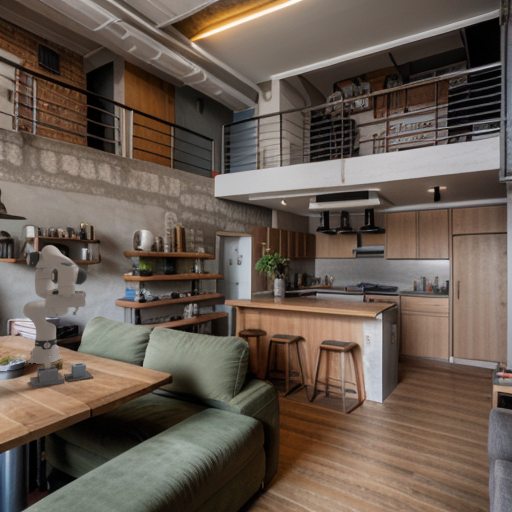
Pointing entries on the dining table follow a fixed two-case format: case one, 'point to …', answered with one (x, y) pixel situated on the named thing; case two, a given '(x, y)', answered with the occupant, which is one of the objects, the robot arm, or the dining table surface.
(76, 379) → the mat
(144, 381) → the dining table surface
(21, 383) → the dining table surface
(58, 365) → the gavel
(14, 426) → the dining table surface
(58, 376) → the vise
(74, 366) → the blue-grey cube
